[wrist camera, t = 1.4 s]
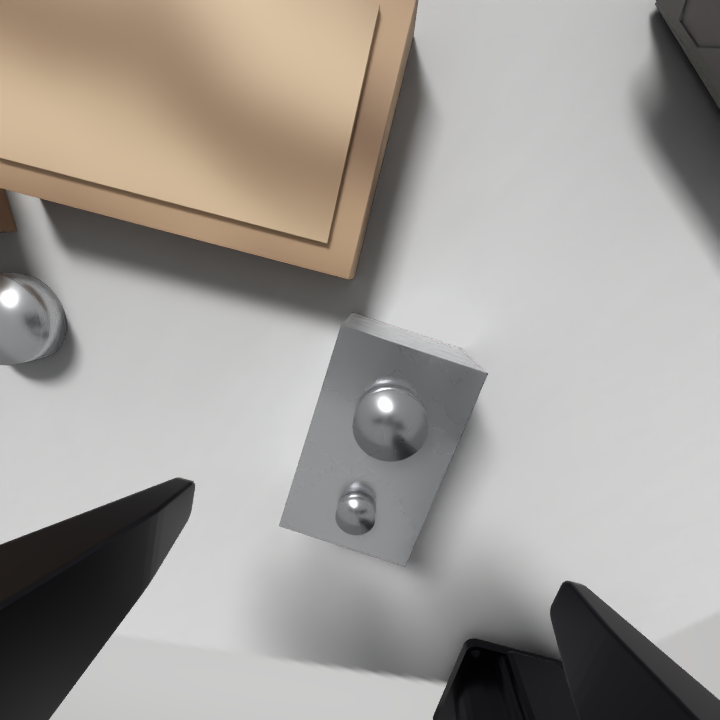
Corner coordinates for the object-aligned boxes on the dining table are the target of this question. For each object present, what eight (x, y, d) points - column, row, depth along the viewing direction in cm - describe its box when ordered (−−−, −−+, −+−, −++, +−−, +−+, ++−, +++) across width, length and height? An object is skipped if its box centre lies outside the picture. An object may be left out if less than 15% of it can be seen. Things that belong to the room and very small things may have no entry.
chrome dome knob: (68, 366, 17) (39, 375, 16) (-11, 346, 17) (-48, 352, 16) (72, 285, 16) (42, 286, 15) (-12, 263, 16) (-51, 261, 15)
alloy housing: (399, 496, 18) (406, 584, 13) (304, 465, 18) (272, 541, 12) (459, 347, 16) (495, 380, 11) (352, 311, 16) (338, 328, 11)
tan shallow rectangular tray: (354, 278, 15) (348, 279, 12) (37, 195, 15) (-35, 179, 12) (413, 33, 13) (421, -28, 10) (43, -63, 13) (-42, -149, 10)
